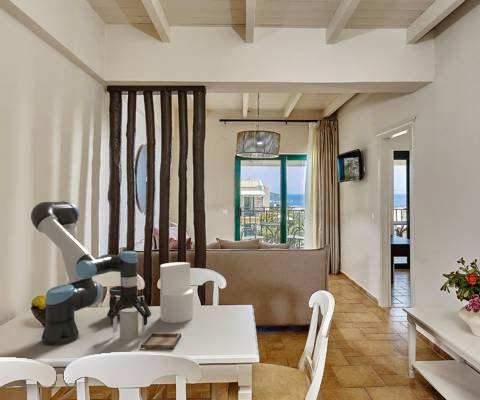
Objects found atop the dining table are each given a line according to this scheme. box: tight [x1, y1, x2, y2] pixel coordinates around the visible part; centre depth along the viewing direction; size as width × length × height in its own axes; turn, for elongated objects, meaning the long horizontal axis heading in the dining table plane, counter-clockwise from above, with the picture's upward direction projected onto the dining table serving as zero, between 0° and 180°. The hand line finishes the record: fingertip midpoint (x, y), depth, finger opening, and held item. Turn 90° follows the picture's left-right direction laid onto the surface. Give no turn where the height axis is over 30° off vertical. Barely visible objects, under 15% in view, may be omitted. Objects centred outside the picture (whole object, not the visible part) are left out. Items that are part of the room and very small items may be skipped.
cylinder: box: [159, 261, 194, 324], centre depth 195 cm, size 17×17×28 cm
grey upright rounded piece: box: [119, 307, 139, 341], centre depth 167 cm, size 8×8×12 cm
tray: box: [140, 332, 182, 351], centre depth 160 cm, size 14×14×2 cm
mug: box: [108, 285, 134, 320], centre depth 195 cm, size 20×14×15 cm
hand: (129, 331), depth 167 cm, fingers open, 13 cm apart
